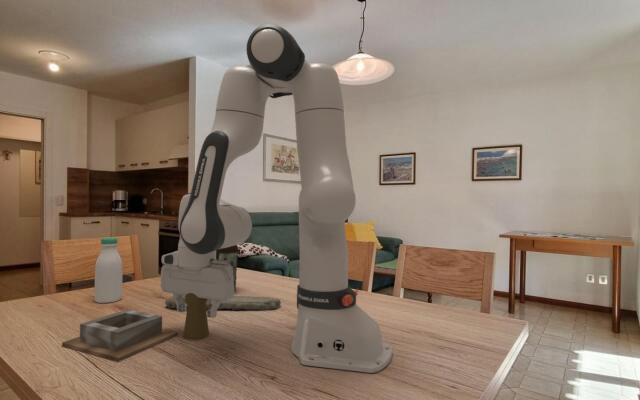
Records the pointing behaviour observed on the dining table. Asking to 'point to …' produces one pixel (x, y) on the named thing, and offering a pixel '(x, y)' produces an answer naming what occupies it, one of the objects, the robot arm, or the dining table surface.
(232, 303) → the long grey stone
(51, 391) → the dining table surface
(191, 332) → the cork
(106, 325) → the socket block
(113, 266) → the milk bottle
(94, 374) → the dining table surface
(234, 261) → the olive oil
